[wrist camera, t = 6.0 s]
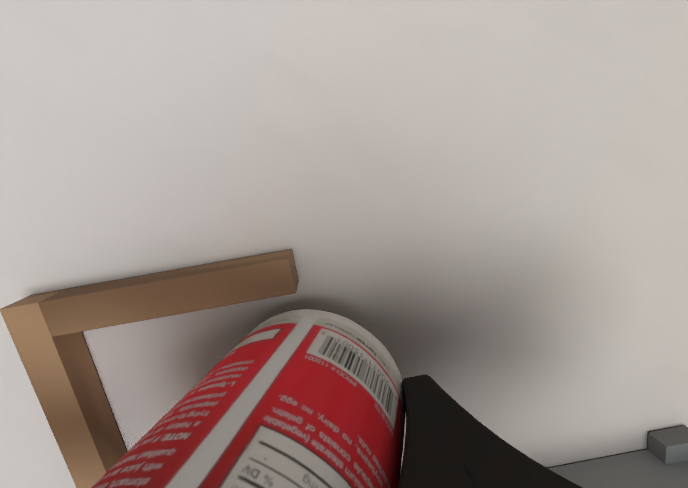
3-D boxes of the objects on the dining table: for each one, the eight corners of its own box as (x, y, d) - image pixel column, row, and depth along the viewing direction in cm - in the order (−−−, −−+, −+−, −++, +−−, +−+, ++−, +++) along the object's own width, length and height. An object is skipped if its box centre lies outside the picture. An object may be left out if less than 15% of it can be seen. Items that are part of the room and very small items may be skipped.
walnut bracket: (341, 484, 15) (342, 512, 13) (124, 525, 14) (106, 557, 13) (291, 249, 12) (288, 258, 11) (31, 295, 12) (-1, 309, 11)
